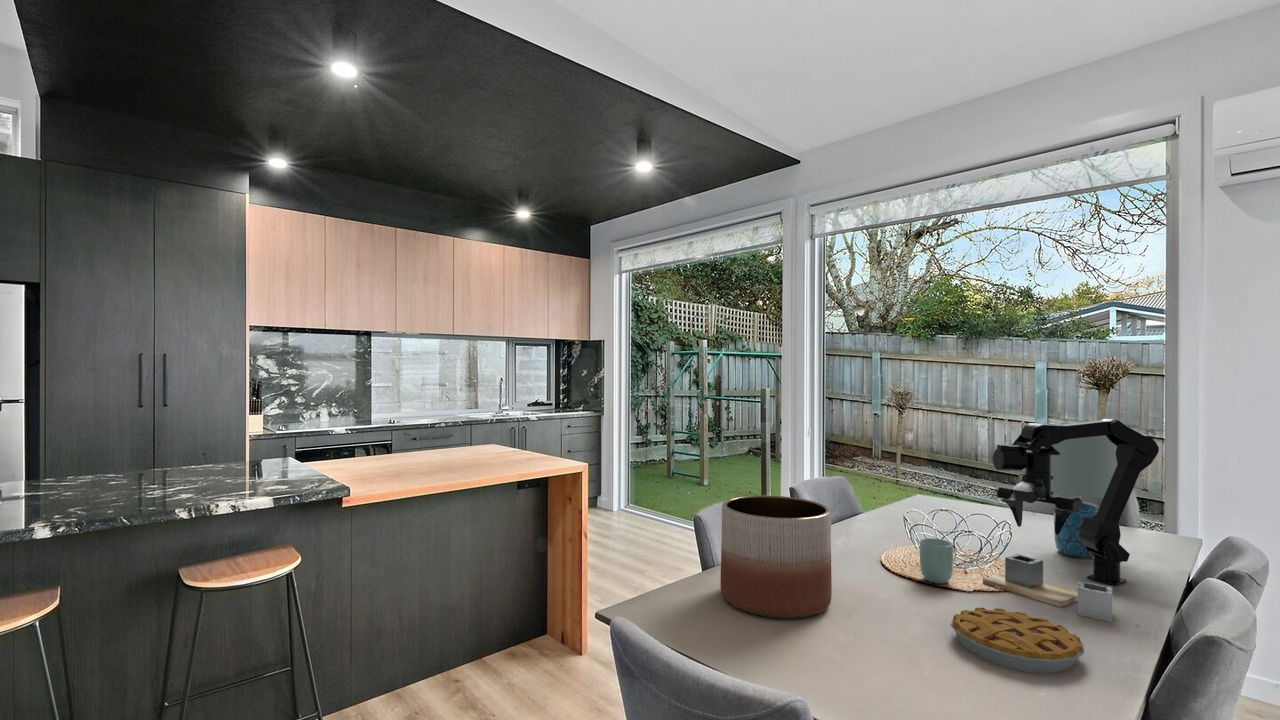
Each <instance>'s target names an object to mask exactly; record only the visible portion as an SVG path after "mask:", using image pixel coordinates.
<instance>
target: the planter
mask: <svg viewBox="0 0 1280 720" xmlns="http://www.w3.org/2000/svg"><path fill="white" fill-rule="evenodd" d="M720 544H721V547H720V548H721V549H720V593H721V595H722V597H723V598H724V599H725V601H727V602H728V603H729V604H730V605H732V606H734V607H736V608H738V609H740V610H741V611H744V612H747V613H750V614H753V615H757V616H762V617H765V618H766V617H767V618H775V619H799V618H800V619H801V618H806V617H811V616H815V615H817V614H819V613H821V612H823V611H825V610H826V609H827V608H829V607H830V605H831V603H832V592H833V591H832V590H833V589H832V579H833V578H832V510H831V508H829V506H827V505H826V504H823V503H821V502H816V501H815V500H810V499H804V498H801V497H800V498H798V497H794V496H793V497H792V496H782V495H745V496H738V497H737V496H736V497H733V498H728V499H726V500H725V501H723V502H722V504H721V543H720Z"/></svg>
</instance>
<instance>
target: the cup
mask: <svg viewBox="0 0 1280 720" xmlns="http://www.w3.org/2000/svg"><path fill="white" fill-rule="evenodd" d="M919 564H920V565H919V566H920V572H921V575H922V576H923V578H924V579H925V580H926V581H928V582H930V583H933V582H934V583H933V584H947V583H948V582H949V581H950V580H951V578H952V576H953V570H954V544H953V543H952V542H951V541H949V540H947V539H946V540H945V539H941V538H933V537H932V538H931V537H930V538H929V537H926V538H925V537H924V538H921V539H920V540H919Z"/></svg>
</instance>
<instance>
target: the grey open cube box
mask: <svg viewBox="0 0 1280 720" xmlns="http://www.w3.org/2000/svg"><path fill="white" fill-rule="evenodd" d="M1077 590H1078V601H1077V615H1078V616H1081V617H1085V618H1090V619H1095V620H1098V621H1099V620H1100V621H1104V622H1110V623H1113V586H1110V585H1109V586H1108V585H1103V584H1098V583H1092V582H1087V581H1083V580H1082V581H1081V580H1079V582H1078V586H1077Z"/></svg>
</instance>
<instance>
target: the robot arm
mask: <svg viewBox="0 0 1280 720" xmlns="http://www.w3.org/2000/svg"><path fill="white" fill-rule="evenodd" d="M1020 432H1021V433H1020V434H1019V435H1018V437H1017V438H1016V439H1015V440H1014V442H1013V443H1011V445H1009V444H1007V445H1005V444H999V443H998V444H997V445H996V449H995V450H994V452H993V455H992V464H993V466H994V468H995V470H997V471H1007V472H1009V471H1013V472H1020V471H1021V472H1022V471H1024V474H1022V476H1021V481H1020V482H1018V483H1017V484H1016V485H1015V486H1011V485H1005V486H1004V485H1003V486H999V487H998V488H997V489H996V498H998V499H1001V502H1004V503H1005V504H1006V505H1007V506H1008V507H1009V508H1010V511H1011V512H1012V515H1013V518H1014V521H1015V523H1016V525H1017V527H1019V528H1020V527H1022V525H1023V524H1022V523H1023V512H1024V510H1023V509H1024V502H1026V503H1027V504H1033V503H1035V502H1041V503H1046V504H1053V505H1054V504H1055V506H1056V507H1057V509H1054V508H1053V513H1054V512H1055V514H1056V518H1055V534H1056V535H1058V534H1059V533H1060V531H1061V529H1062V527H1063V525H1064V523H1065V522H1066V520H1067V518H1068V517H1069V515H1070V514H1071V513H1072V512H1075V511H1077V510H1079V509H1083V502H1084V501H1083V500H1082V498H1081V499H1080V498H1079V497H1073V496H1067V495H1060V496H1053V495H1054V493H1053V491H1051V480H1053V476H1052V475H1051V455H1060V453H1059V452H1058V451H1057V450H1056V449H1055V448H1054V447H1053V446H1051V445H1054V444H1058V443H1060V442H1062V441H1064V440H1068V439H1076V438H1085V437H1094V436H1104V435H1106V436H1107V438H1108V439H1109V440H1110V441H1111V442H1112V443H1113V444H1114V445H1116V446H1117V449H1116V459H1117V467H1116V469H1115V472H1114V474H1113V477H1112V479H1111V481H1110V484H1109V486H1108V488H1107V491H1106V493H1105V495H1104V498H1102V500H1101V503H1100V505H1099V506H1098V507H1099V509H1098V512H1097V514H1096V515H1095V516H1093V517H1092V518H1091V519H1090V518H1087V517H1084V519H1083V522H1082V525H1081V527H1080V528H1079V529H1078V531H1080V533H1079V538H1080V540H1081V542H1082V543H1083V544H1084V545H1085V548H1086V550H1087V552H1090V553H1093V558H1092V574H1090V575H1087V576H1086V578H1087V579H1088V580H1093V581H1096V582H1101V583H1105V584H1107V585H1108V584H1109V585H1113V586H1118V585H1121V584H1123V583H1126V582H1127V579H1125V578H1122V577H1121V563H1123V562H1124V563H1126V562H1128V560H1129V559H1130V555H1131V554H1130V553H1129V552H1128V551H1127V550H1126V549H1125V548H1124V547H1123V546H1122V545H1121V544H1120V540H1121V535H1122V533H1121V528H1120V521H1121V518H1122V516H1123V514H1124V511H1125V509H1126V507H1127V504H1128V502H1129V500H1130V497H1131V494H1132V493H1133V490H1134V488H1135V486H1136V483H1137V481H1138V478H1139V476H1140V474H1141V473H1142V472H1143V471H1144V470H1145V469H1146V468H1147V467H1149V466H1150V465H1151V464H1153V462H1154V460H1155V459H1156V458H1157V456H1158V454H1159V452H1160V448H1159V446H1158V444H1157V441H1155V439H1153V438H1151V437H1147V436H1145V435H1143V434H1142V433H1141V432H1139V431H1137V430H1134V429H1133V428H1131V427H1129V426H1127V425H1126V424H1124V423H1123V422H1121V421H1120V420H1118V419H1112V418H1103V419H1098V420H1091V421H1081V422H1072V423H1064V424H1051V423H1040V422H1039V423H1038V422H1037V423H1035V422H1029V423H1027V424H1025V425H1024V426H1023V428H1022V429H1021V431H1020ZM1041 447H1044V448H1041ZM1082 501H1083V502H1082ZM1055 534H1054V535H1055Z"/></svg>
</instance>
